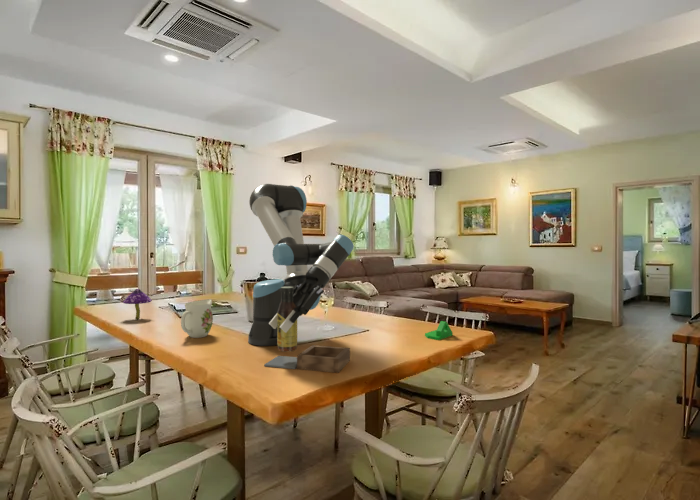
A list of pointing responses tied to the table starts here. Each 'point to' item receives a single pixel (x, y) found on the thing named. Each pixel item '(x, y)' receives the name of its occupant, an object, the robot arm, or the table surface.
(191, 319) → the pitcher
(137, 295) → the decorative mushroom
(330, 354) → the walnut collar
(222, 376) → the table surface
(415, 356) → the table surface
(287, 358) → the slate coaster
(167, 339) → the table surface
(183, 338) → the table surface
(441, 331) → the bracket
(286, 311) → the sauce bottle
